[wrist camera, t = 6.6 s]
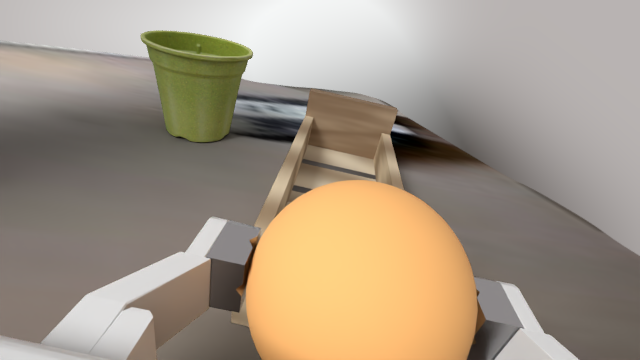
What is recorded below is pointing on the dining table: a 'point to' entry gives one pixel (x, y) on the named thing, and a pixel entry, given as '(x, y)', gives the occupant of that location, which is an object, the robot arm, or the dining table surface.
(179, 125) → the plant pot
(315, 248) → the ball
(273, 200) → the lane
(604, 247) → the dining table surface
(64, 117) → the dining table surface
